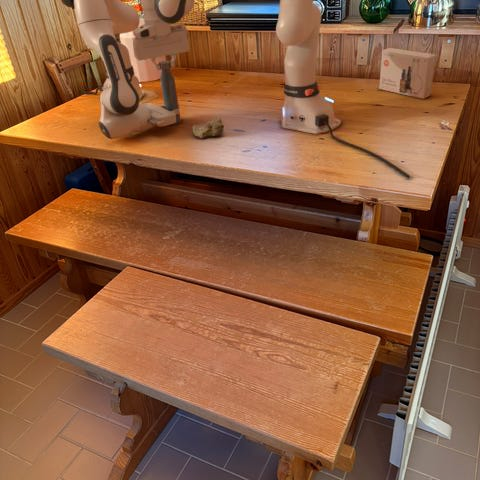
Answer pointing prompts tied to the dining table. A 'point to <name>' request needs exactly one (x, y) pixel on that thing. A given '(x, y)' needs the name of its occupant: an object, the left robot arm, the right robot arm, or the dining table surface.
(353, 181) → the dining table surface
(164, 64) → the cap
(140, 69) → the container
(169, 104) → the bottle
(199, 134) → the rock
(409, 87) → the skincare box
